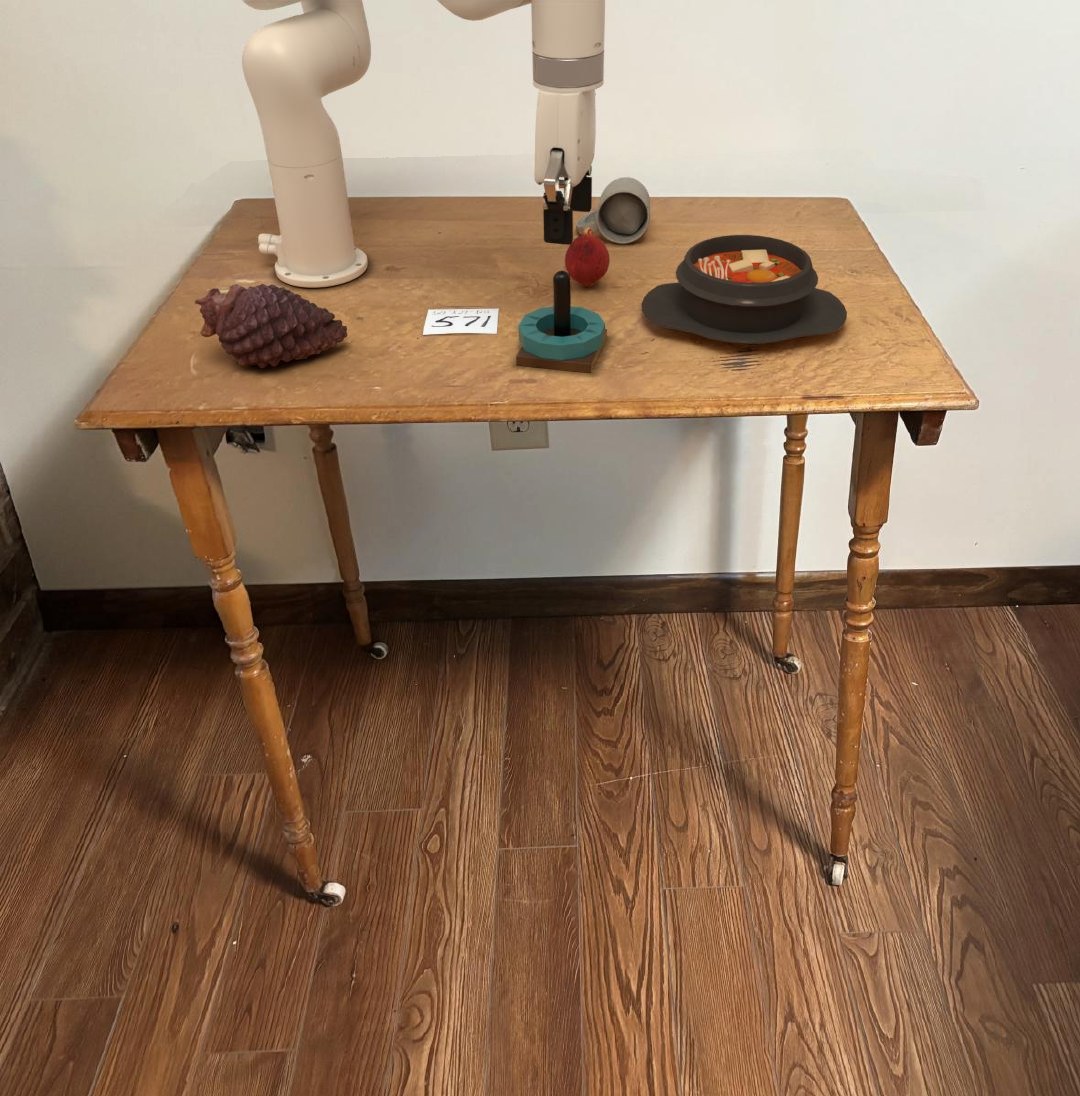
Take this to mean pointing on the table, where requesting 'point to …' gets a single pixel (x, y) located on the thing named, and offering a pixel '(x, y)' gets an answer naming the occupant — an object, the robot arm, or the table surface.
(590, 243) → the onion
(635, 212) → the ceramic mug
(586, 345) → the ring
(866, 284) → the table surface
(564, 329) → the stand
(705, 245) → the casserole
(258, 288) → the pine cone
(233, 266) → the table surface
